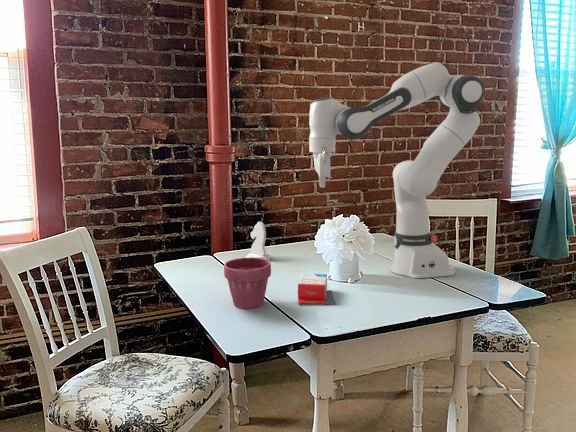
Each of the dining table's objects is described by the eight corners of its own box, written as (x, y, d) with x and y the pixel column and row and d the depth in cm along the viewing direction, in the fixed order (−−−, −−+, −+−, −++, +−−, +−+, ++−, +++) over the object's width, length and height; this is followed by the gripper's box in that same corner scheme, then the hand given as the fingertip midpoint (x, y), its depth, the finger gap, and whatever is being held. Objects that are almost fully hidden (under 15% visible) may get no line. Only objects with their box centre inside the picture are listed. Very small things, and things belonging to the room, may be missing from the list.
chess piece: (259, 254, 229) (259, 217, 226) (276, 259, 222) (275, 221, 219) (240, 259, 223) (239, 221, 220) (257, 264, 216) (256, 225, 213)
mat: (331, 291, 184) (331, 290, 184) (335, 304, 172) (335, 303, 172) (297, 292, 184) (297, 291, 184) (299, 305, 172) (299, 304, 172)
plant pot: (230, 295, 182) (229, 256, 179) (274, 296, 180) (273, 257, 178) (220, 311, 168) (219, 269, 165) (267, 312, 166) (267, 270, 164)
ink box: (327, 273, 185) (325, 288, 170) (327, 288, 186) (325, 304, 172) (300, 273, 186) (296, 288, 171) (301, 287, 187) (296, 303, 172)
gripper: (334, 149, 183) (334, 191, 186) (328, 144, 203) (328, 182, 206) (315, 149, 183) (315, 191, 186) (311, 144, 203) (311, 183, 206)
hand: (322, 187), depth 196 cm, fingers closed
